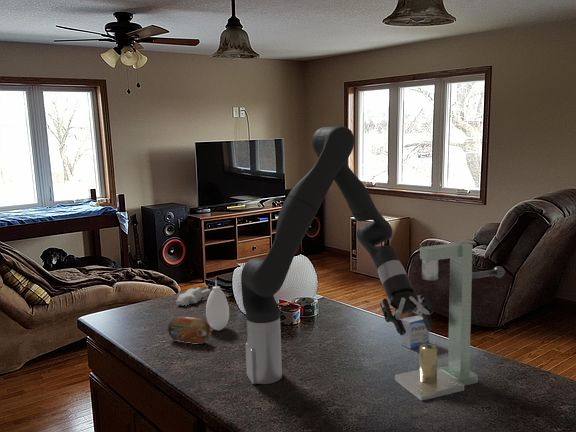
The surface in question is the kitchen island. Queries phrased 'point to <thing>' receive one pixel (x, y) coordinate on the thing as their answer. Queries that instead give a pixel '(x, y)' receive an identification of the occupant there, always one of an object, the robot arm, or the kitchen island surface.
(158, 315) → the kitchen island surface
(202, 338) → the tin
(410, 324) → the medicine box
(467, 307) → the press bed
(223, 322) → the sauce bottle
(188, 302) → the bunny figurine
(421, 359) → the housing
